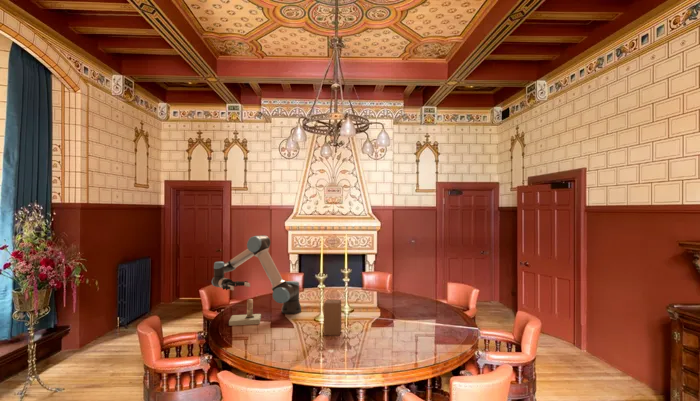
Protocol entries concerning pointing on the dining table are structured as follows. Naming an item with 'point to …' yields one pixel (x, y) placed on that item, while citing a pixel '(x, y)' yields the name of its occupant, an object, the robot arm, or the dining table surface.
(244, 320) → the board
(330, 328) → the block
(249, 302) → the peg
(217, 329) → the dining table surface
